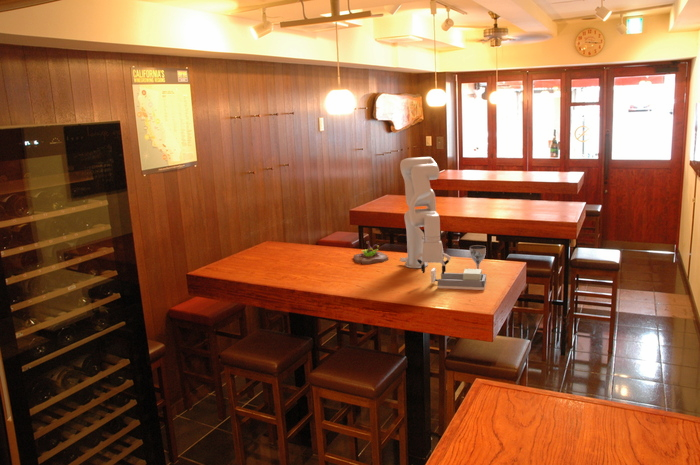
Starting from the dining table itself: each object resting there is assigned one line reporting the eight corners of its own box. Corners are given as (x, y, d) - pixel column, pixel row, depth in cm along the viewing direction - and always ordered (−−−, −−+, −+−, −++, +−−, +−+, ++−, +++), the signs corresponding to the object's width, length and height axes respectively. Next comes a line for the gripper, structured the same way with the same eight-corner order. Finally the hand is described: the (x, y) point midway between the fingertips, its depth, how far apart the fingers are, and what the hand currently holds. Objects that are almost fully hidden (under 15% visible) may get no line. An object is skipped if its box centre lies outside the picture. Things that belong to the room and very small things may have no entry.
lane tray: (437, 288, 276) (437, 279, 275) (441, 280, 287) (441, 272, 286) (484, 289, 269) (484, 281, 268) (486, 282, 280) (486, 274, 279)
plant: (379, 254, 347) (378, 236, 345) (392, 261, 329) (391, 242, 327) (348, 258, 341) (347, 240, 339) (359, 266, 323) (358, 247, 321)
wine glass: (474, 278, 287) (474, 249, 284) (467, 274, 294) (466, 246, 291) (488, 276, 289) (488, 247, 286) (481, 272, 296) (481, 244, 293)
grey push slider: (430, 284, 278) (430, 271, 277) (433, 279, 286) (433, 267, 284) (480, 285, 271) (480, 273, 270) (481, 280, 278) (481, 268, 277)
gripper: (413, 240, 276) (414, 274, 280) (449, 241, 271) (450, 275, 274) (416, 237, 283) (417, 270, 287) (451, 237, 278) (452, 271, 281)
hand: (433, 272), depth 281 cm, fingers open, 9 cm apart
